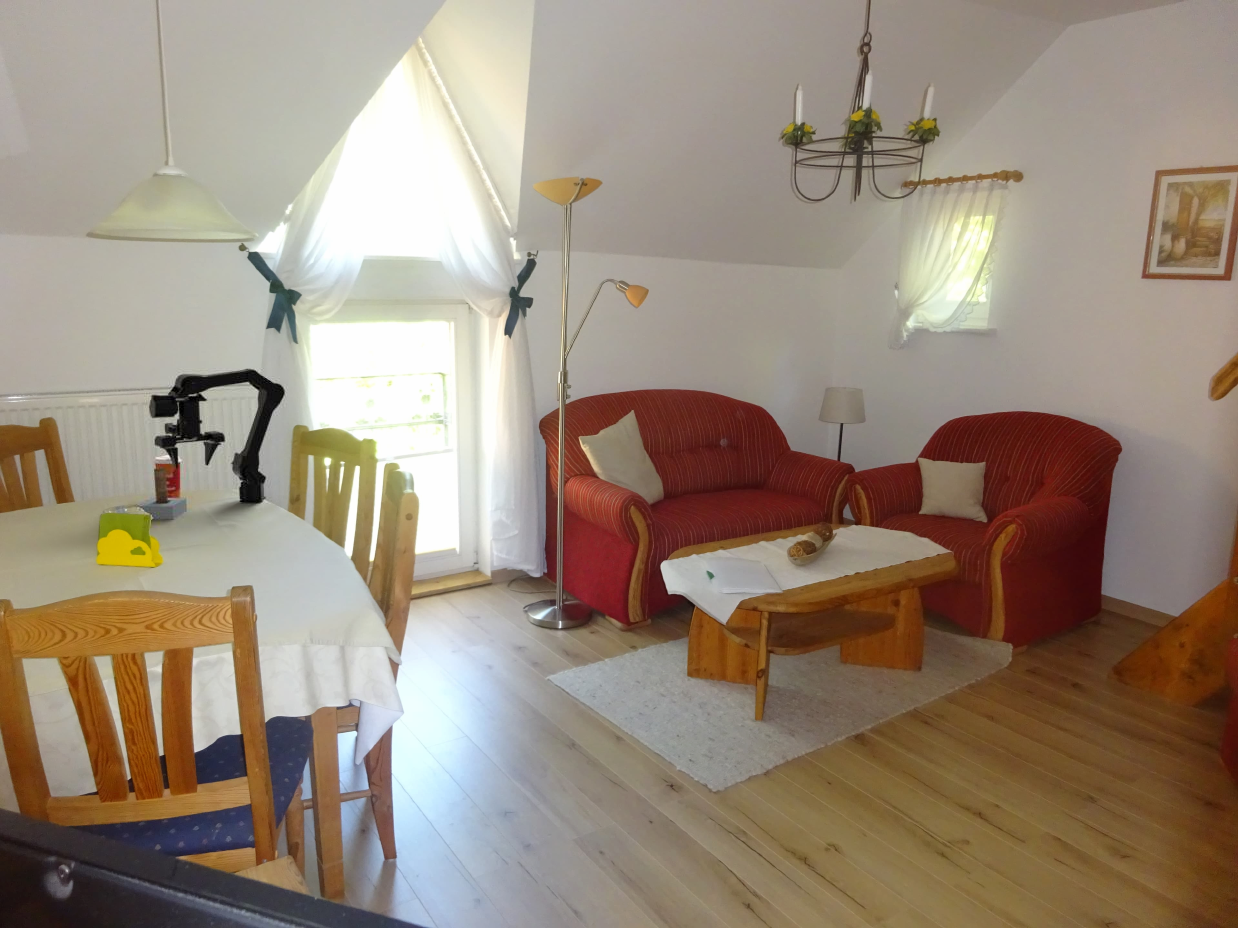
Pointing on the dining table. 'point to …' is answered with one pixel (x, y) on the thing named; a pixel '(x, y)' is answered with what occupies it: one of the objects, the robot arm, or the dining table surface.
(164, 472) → the dowel
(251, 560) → the dining table surface
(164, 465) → the paper cup
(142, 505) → the socket block
